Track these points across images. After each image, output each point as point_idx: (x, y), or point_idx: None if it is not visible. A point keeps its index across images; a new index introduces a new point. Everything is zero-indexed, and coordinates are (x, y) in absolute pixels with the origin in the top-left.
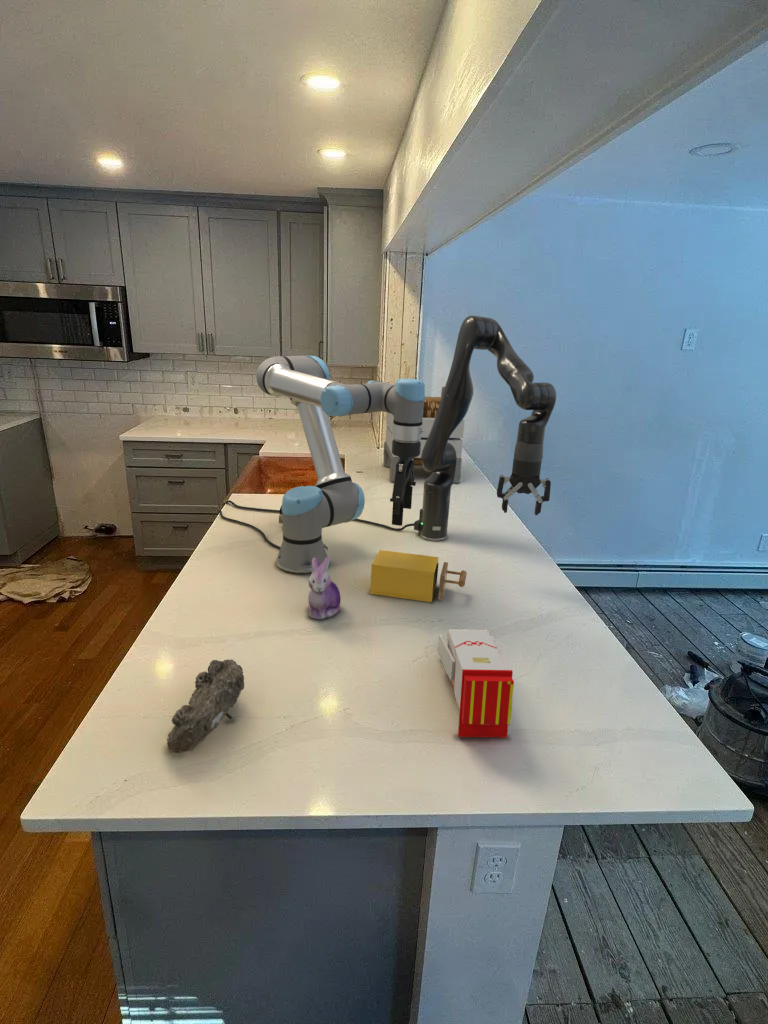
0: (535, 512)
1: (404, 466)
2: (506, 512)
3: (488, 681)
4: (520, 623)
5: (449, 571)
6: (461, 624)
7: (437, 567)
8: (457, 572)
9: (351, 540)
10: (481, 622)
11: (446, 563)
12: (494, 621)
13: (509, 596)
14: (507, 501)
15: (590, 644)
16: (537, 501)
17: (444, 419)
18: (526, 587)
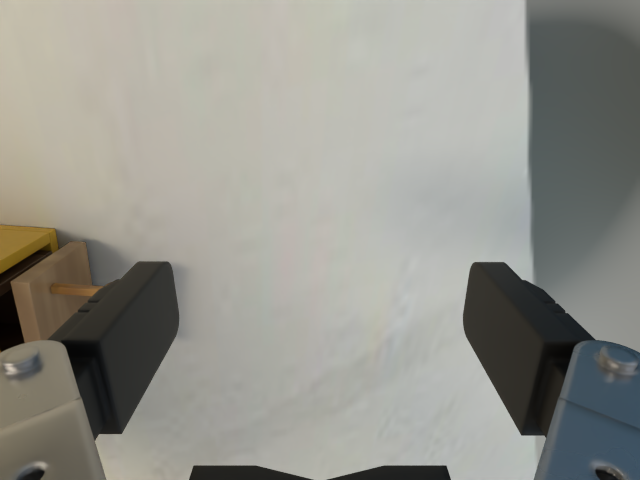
0: (472, 334)
1: None
2: (175, 327)
3: None
4: (326, 386)
5: (60, 293)
6: (177, 415)
7: (4, 292)
8: (92, 295)
9: None
10: (225, 399)
11: (24, 294)
12: (258, 389)
13: (307, 251)
14: (116, 425)
15: (481, 436)
16: (545, 415)
17: None
18: (374, 172)
